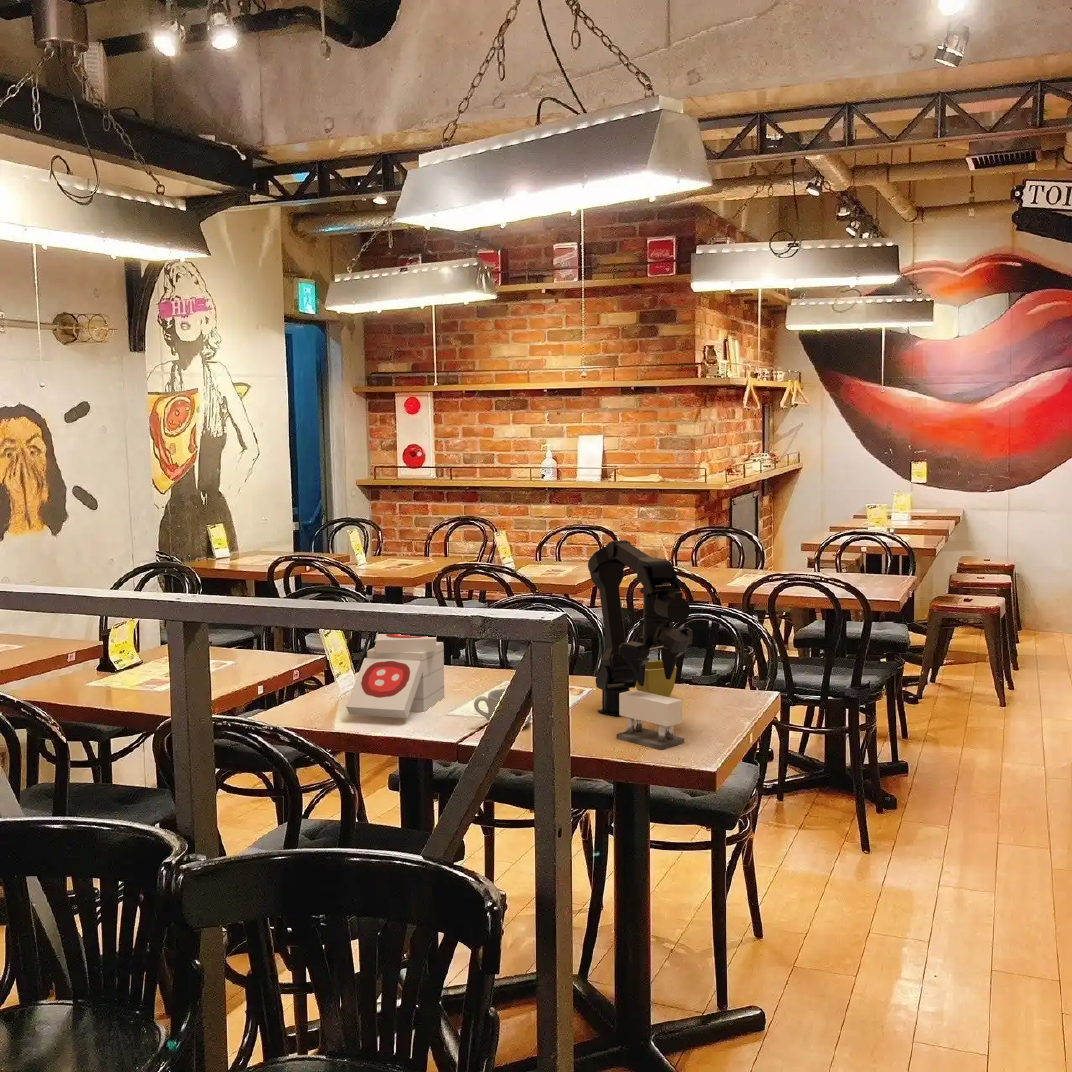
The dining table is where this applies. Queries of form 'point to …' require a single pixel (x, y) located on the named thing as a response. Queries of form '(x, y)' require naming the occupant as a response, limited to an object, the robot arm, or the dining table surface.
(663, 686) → the flower pot
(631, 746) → the dining table surface
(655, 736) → the peg stand
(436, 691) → the stacked boxes
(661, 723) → the block
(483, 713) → the teacup
